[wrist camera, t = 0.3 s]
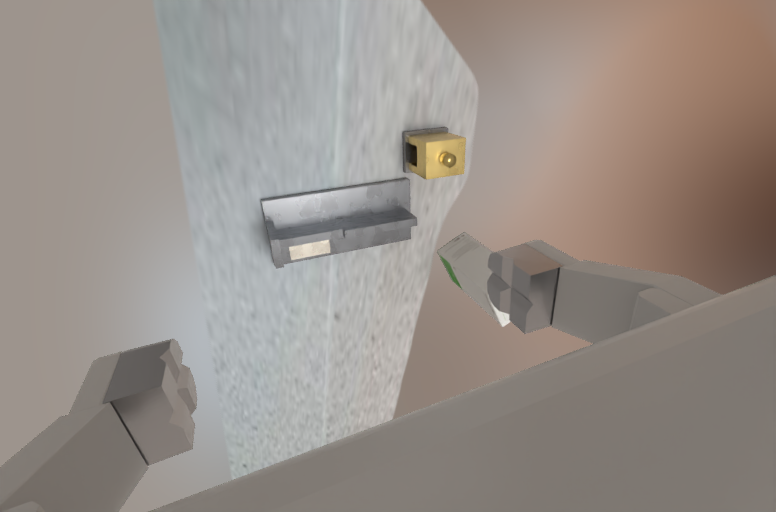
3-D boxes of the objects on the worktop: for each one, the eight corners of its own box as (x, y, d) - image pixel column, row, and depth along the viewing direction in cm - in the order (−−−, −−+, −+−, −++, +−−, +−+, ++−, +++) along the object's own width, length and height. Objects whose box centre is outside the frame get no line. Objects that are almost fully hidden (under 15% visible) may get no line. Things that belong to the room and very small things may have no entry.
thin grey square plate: (402, 131, 57) (405, 132, 56) (444, 127, 59) (448, 127, 58) (403, 171, 60) (406, 173, 59) (444, 166, 62) (447, 167, 61)
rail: (261, 199, 54) (265, 218, 47) (406, 177, 60) (429, 191, 54) (273, 262, 59) (279, 288, 52) (407, 236, 65) (428, 256, 58)
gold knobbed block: (408, 135, 57) (430, 144, 50) (445, 131, 58) (471, 139, 52) (409, 169, 59) (430, 182, 53) (444, 164, 61) (469, 176, 54)
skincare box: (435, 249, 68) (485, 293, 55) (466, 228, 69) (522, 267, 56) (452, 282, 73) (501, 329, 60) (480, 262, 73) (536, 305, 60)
